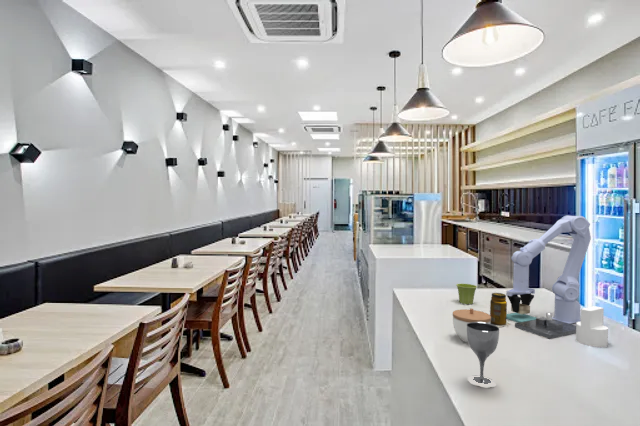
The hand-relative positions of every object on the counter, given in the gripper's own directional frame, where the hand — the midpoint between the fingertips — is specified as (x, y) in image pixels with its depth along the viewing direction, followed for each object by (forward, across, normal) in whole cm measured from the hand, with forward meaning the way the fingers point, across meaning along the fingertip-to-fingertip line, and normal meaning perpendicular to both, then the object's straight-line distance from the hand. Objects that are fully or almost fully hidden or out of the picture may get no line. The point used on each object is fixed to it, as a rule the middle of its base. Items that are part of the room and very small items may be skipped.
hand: (520, 311), depth 157 cm
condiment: (+3, -15, -1) cm, 15 cm away
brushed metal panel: (+3, -2, -14) cm, 14 cm away
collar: (0, 0, 0) cm, 0 cm away
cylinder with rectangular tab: (+3, -1, -29) cm, 29 cm away
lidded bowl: (+3, -39, -12) cm, 41 cm away
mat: (+3, 0, 0) cm, 3 cm away
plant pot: (+3, -2, +28) cm, 28 cm away
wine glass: (+3, -60, -37) cm, 71 cm away
